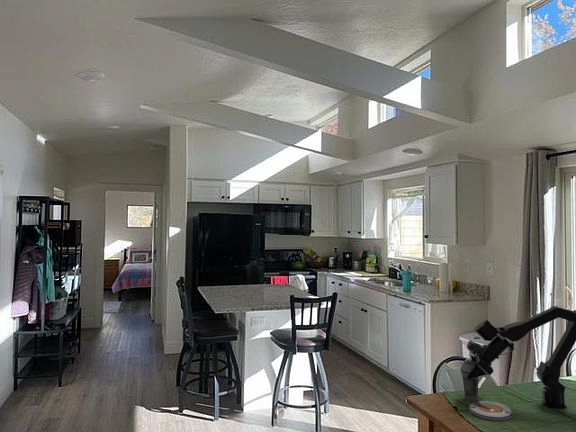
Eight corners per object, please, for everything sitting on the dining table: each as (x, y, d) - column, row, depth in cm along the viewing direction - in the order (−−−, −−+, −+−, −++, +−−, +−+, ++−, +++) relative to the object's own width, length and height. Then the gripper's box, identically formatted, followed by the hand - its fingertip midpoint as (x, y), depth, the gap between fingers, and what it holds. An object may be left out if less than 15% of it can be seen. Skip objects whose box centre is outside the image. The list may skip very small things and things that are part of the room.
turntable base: (505, 405, 165) (505, 403, 165) (518, 422, 150) (518, 420, 150) (465, 404, 168) (465, 401, 168) (473, 419, 153) (473, 417, 153)
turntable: (504, 404, 165) (504, 401, 165) (516, 419, 151) (516, 416, 151) (466, 402, 167) (466, 399, 168) (474, 416, 154) (474, 414, 154)
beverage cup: (477, 396, 176) (475, 347, 177) (484, 402, 169) (481, 352, 170) (459, 395, 177) (457, 347, 178) (465, 402, 169) (462, 352, 171)
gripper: (474, 329, 182) (449, 354, 184) (482, 339, 164) (453, 367, 166) (495, 348, 180) (469, 373, 182) (505, 361, 162) (476, 388, 164)
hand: (466, 375), depth 174 cm, fingers closed on beverage cup, 7 cm apart
